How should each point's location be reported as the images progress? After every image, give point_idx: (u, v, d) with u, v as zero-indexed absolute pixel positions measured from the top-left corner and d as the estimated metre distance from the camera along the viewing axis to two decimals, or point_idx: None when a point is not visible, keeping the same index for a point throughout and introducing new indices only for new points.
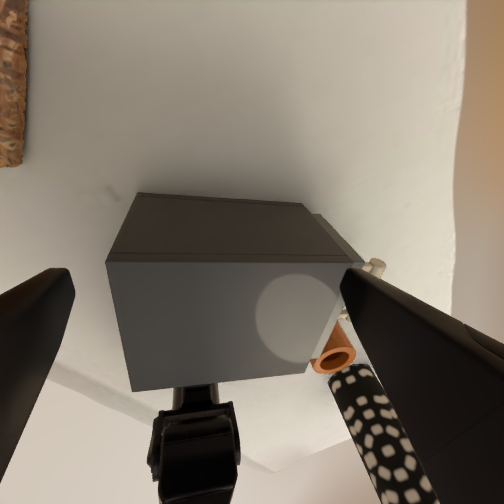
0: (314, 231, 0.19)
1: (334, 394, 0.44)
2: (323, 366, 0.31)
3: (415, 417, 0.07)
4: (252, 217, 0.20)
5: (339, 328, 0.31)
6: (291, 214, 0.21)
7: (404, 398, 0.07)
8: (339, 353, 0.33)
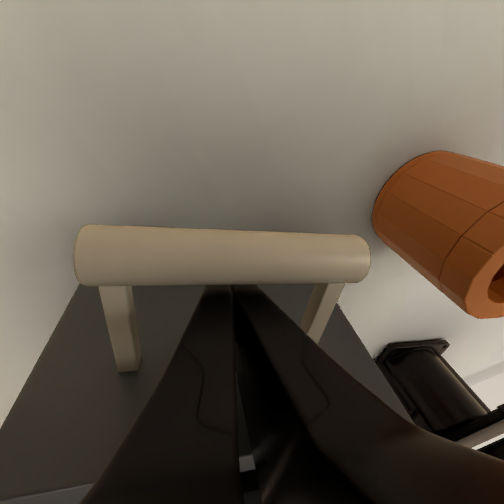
0: None
1: None
2: None
3: (257, 446, 0.06)
4: None
5: (442, 200, 0.10)
6: None
7: (251, 422, 0.06)
8: None
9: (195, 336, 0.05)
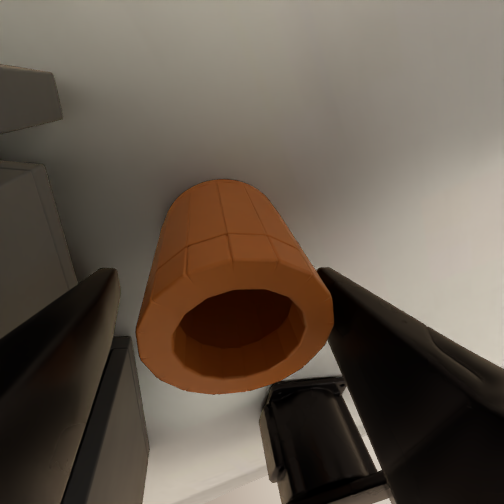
0: None
1: None
2: (287, 343, 0.08)
3: (378, 424, 0.06)
4: None
5: (160, 247, 0.08)
6: None
7: (368, 404, 0.07)
8: None
9: (1, 349, 0.04)
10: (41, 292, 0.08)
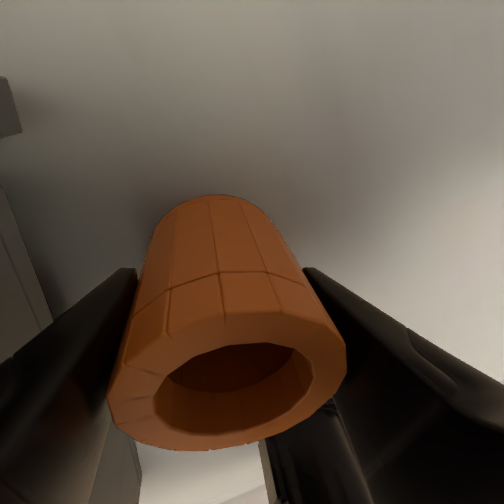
0: None
1: None
2: (291, 390, 0.07)
3: (358, 427, 0.06)
4: None
5: (141, 280, 0.07)
6: None
7: (348, 407, 0.07)
8: None
9: (38, 346, 0.04)
10: None
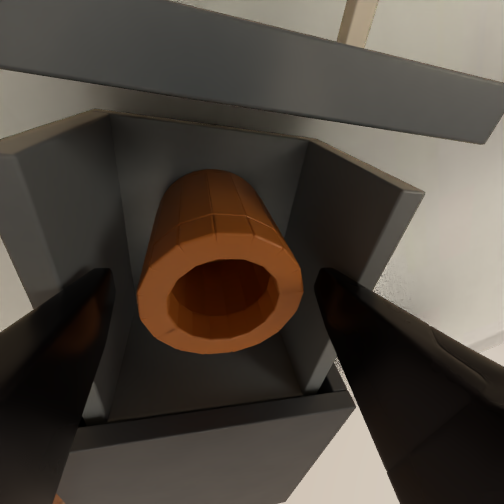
0: None
1: None
2: (265, 310, 0.09)
3: (381, 423, 0.06)
4: None
5: (155, 227, 0.09)
6: None
7: (371, 403, 0.07)
8: None
9: None
10: None
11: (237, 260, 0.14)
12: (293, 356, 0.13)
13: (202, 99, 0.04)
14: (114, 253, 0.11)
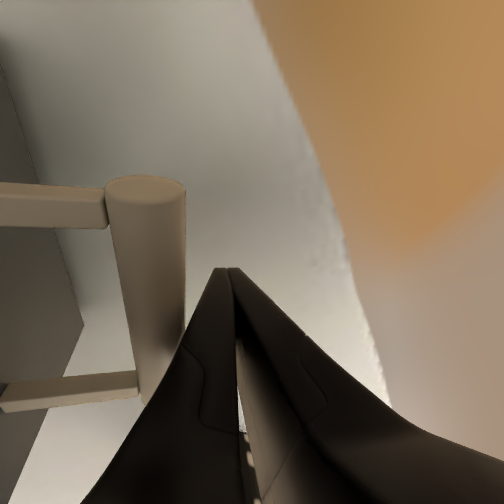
0: None
1: None
2: None
3: (256, 446, 0.06)
4: None
5: None
6: None
7: (251, 422, 0.06)
8: None
9: (196, 336, 0.05)
10: None
11: None
12: None
13: None
14: None
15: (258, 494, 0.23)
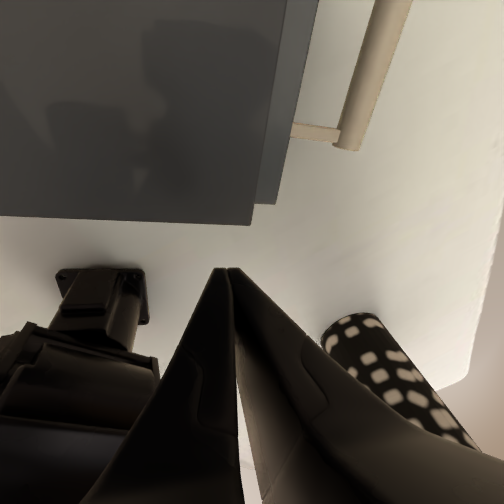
0: None
1: (329, 355, 0.31)
2: None
3: (257, 446, 0.06)
4: None
5: None
6: None
7: (251, 422, 0.06)
8: None
9: (195, 336, 0.05)
10: None
11: None
12: None
13: None
14: None
15: None
